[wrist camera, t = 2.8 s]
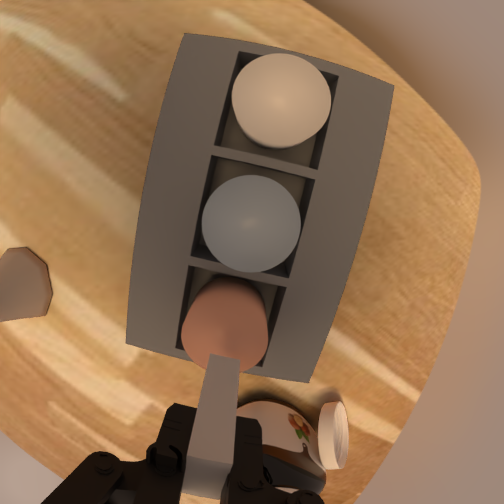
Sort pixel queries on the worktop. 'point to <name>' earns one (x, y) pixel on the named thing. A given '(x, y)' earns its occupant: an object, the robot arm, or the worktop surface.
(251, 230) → the button slate
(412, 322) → the worktop surface
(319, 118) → the button ivory
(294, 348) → the panel
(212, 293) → the button terracotta
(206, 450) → the robot arm
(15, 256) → the flask
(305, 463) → the spread jar
